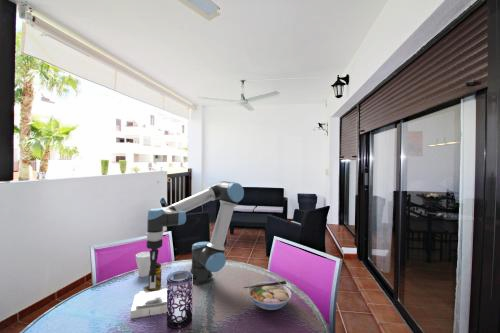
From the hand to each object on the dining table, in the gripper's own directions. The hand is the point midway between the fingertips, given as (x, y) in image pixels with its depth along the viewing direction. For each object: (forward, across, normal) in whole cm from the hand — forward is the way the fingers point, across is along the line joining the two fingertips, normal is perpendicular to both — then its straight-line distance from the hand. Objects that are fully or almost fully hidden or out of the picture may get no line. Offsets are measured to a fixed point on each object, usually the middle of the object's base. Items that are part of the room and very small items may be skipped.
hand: (153, 284), depth 124 cm
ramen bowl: (+11, +15, +58) cm, 61 cm away
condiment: (+2, 0, 0) cm, 2 cm away
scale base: (+11, 0, 0) cm, 11 cm away
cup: (+11, -40, -8) cm, 42 cm away
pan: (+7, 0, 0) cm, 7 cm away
